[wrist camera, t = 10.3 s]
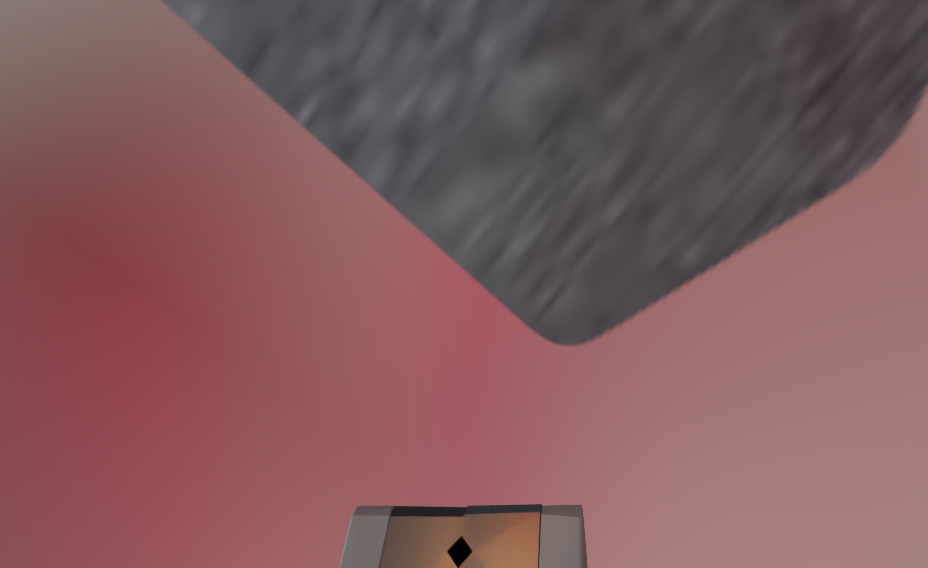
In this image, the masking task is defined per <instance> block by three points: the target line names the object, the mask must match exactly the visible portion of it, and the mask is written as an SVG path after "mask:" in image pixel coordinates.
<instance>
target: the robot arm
mask: <svg viewBox="0 0 928 568" xmlns="http://www.w3.org/2000/svg"><path fill="white" fill-rule="evenodd" d="M339 568H587V554H586V541H585V529H584V517H583V508H582V505H558V506H557V505H556V506H542V504H538V505H537V504H535V505H487V506H468V507H425V506H421V507H420V506H357V508H356V510H355V512H354V514H353V515H352V517H351V520H350V525H349V529H348V533H347V537H346V541H345V545H344V549H343V554H342V558H341V562H340V566H339Z"/></svg>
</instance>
